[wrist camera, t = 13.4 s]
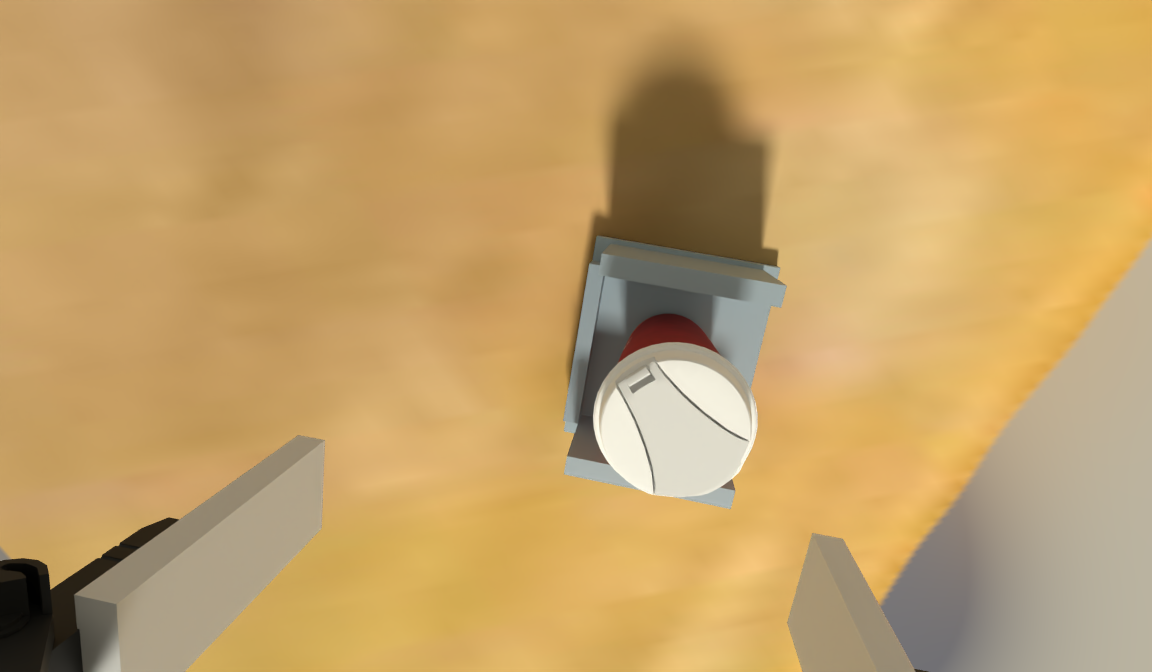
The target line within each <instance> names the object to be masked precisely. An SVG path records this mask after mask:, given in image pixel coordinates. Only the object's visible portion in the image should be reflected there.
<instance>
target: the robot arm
mask: <svg viewBox="0 0 1152 672" xmlns="http://www.w3.org/2000/svg"><path fill="white" fill-rule="evenodd" d="M324 450H325V440H321V439H316V438H310V437H305V436H300V435H298V436H296V437H295V438H294V439H292V440H291V441H289V442H288V443H287V444H285V445H284V446H282V447H281V448H280V449H278V450H277V451H275V452H274V453H273V454H271V455H270V456H268V457H267V458H266V459H264V460H263V461H261V462H260V463H259V464H257V465H256V466H254V467H253V468H252V469H250V470H249V471H247V472H246V473H244V474H243V475H242V476H240V477H239V478H237V479H236V480H235V481H233V482H232V483H230V484H229V485H228V486H226V487H225V488H223V489H222V490H221V491H219V492H218V493H216V494H215V495H214V496H212V497H211V498H209V499H208V500H207V501H205V502H204V503H202V504H201V505H200V506H198V507H197V508H195V509H194V510H193V511H191V512H190V513H188V514H187V515H185V516H184V517H183V518H181V519H180V520H179V519H174V518H166V519H164V520H161V521H159V522H156V523H154V524H151V525H149V526H146V527H144V528H141V529H140V530H138V531H137V532H135V533H134V534H132V535H131V536H129V537H128V538H127V539H125V540H124V541H122V542H121V543H120V545H119V546H115V547H113V548H112V549H110V550H109V551H107V552H106V553H104V554H103V555H102V557H101V558H97V559H95V560H94V561H92V562H91V563H90V564H88V565H87V566H85V567H84V568H82V569H81V570H79V571H78V572H76V573H75V574H73V575H72V576H70V577H69V578H67V579H66V580H64V581H63V582H61V583H60V584H58V585H57V586H55V587H54V588H53V589H51V590H50V582H49V573H48V568H47V565H45V564H44V563H42V562H40V561H39V560H33V559H25V558H21V559H11V560H3V561H0V672H185V671H186V670H187V669H188V668H189V667H190V666H191V665H192V664H193V663H194V661H195V660H196V659H197V658H198V657H199V656H200V655H201V654H202V653H203V652H204V651H205V650H206V649H207V648H208V647H209V646H210V645H211V644H212V643H213V642H214V641H215V639H216V638H217V637H218V636H219V635H220V634H221V633H222V632H223V631H224V630H225V629H226V628H227V627H228V626H229V625H230V624H231V623H232V622H233V621H234V620H235V619H236V617H237V616H238V615H239V614H240V613H241V612H242V611H243V610H244V609H245V608H246V607H247V606H248V605H249V604H250V603H251V602H252V601H253V600H254V599H255V598H256V597H257V596H258V594H259V593H260V592H261V591H262V590H263V589H264V588H265V587H266V586H267V585H268V584H269V583H270V582H271V581H272V580H273V579H274V578H275V577H276V576H277V575H278V574H279V572H280V571H281V570H282V569H283V568H284V567H285V566H286V565H287V564H288V563H289V562H290V561H291V560H292V559H293V558H294V557H295V556H296V555H297V554H298V553H299V552H300V550H301V549H302V548H303V547H304V546H305V545H306V544H307V543H308V542H309V541H310V540H311V539H312V538H313V537H314V536H315V535H316V534H317V533H318V532H319V531H320V530H321V528H322V503H323V477H324ZM787 624H788V627H789V630H790V633H791V636H792V639H793V643H794V646H795V649H796V652H797V655H798V658H799V662H800V665H801V668H802V671H803V672H927V671H922V670H917V669H914V668H913V666H912V664H911V662H910V661H909V659H908V657H907V655H906V653H905V651H904V650H903V648H902V646H901V644H900V642H899V641H898V639H897V637H896V635H895V633H894V631H893V630H892V628H891V626H890V624H889V622H888V620H887V619H886V617H885V615H884V613H883V611H882V609H881V608H880V606H879V604H878V602H877V600H876V598H875V597H874V595H873V593H872V591H871V589H870V588H869V586H868V584H867V582H866V580H865V578H864V577H863V575H862V573H861V571H860V569H859V567H858V566H857V564H856V562H855V560H854V558H853V557H852V555H851V553H850V551H849V549H848V547H847V546H846V544H845V542H844V540H843V539H841V538H836V537H830V536H825V535H820V534H815V533H812V536H811V540H810V543H809V547H808V550H807V554H806V558H805V561H804V565H803V568H802V572H801V575H800V579H799V583H798V586H797V590H796V593H795V597H794V600H793V604H792V608H791V611H790V615H789V618H788V622H787Z"/></svg>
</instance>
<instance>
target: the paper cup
mask: <svg viewBox="0 0 1152 672" xmlns="http://www.w3.org/2000/svg"><path fill="white" fill-rule="evenodd" d="M593 423H594V431H595V436H596V440H597V442H598V445H599V447H600V450H601V452H602V453H603V455H604V457H605V458H606V460H607V461H608V463H609V464H610V465H611V466H612V467H613V469H614V470H615V471H616V472H617V473H619V474H620V475H621V476H622V477H623V478H624V479H625V480H626V481H628V482H629V483H630V484H632V485H633V486H635V487H636V488H638V489H640V490H642V491H644V492H647V493H649V494H652V495H654V494H655V495H660V496H669V497H687V496H700V495H705V494H708V493H710V492H712V491H714V490H716V489H718V488H720V487H721V486H723V485H724V484H726V483H727V482H728V481H730V480H731V479H732V478H733V477H734V476H735V475H736V474H738V473H739V471H740V469H741V467H742V465H743V463H744V461H745V460H746V458H747V456H748V454H749V453H750V451H751V449H752V446H753V443H754V440H755V437H756V431H757V408H756V402H755V399H754V396H753V394H752V391H751V389H750V387H749V385H748V383H747V381H746V380H745V378H744V377H743V376H742V374H741V373H740V372H739V371H738V369H737V368H736V367H735V366H734V365H732V364H731V363H730V362H729V361H728V360H727V359H725V358H724V357H722V356H721V355H720V354H719V352H718V351H717V349H716V348H715V347H714V345H713V344H712V342H711V341H710V340H709V338H708V337H707V335H706V334H705V333H704V332H703V330H702V329H701V328H700V327H699V326H698V325H697V324H696V323H694V322H693V321H692V320H690V319H688V318H686V317H684V316H681V315H677V314H659V315H655V316H652V317H650V318H648V319H646V320H644V321H643V322H642V323H641V324H639V325H638V326H637V327H636V329H635V330H634V331H633V332H632V334H631V336H630V337H629V339H628V341H627V343H626V345H625V347H624V350H623V352H622V354H621V356H620V359H619V361H618V363H617V365H616V366H615V367H614V368H613V369H612V370H611V371H610V372H609V374H608V375H607V377H606V378H605V379H604V381H603V383H602V385H601V387H600V389H599V391H598V394H597V397H596V401H595V404H594V413H593Z"/></svg>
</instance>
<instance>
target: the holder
mask: <svg viewBox="0 0 1152 672" xmlns="http://www.w3.org/2000/svg"><path fill="white" fill-rule="evenodd" d="M779 271H780V268H779V267H778V266H773V265H767V264H761V263H755V262H750V261H744V260H738V259H732V258H726V257H721V256H715V255H709V254H703V253H697V252H692V251H686V250H680V249H674V248H669V247H663V246H657V245H651V244H645V243H640V242H634V241H628V240H622V239H617V238H611V237H605V236H599V235H598V236H597V237H596V243H595V249H594V255H593V260H592V261H591V262H590V264H589V269H588V275H587V281H586V287H585V293H584V299H583V305H582V311H581V317H580V323H579V329H578V335H577V341H576V347H575V353H574V359H573V365H572V371H571V377H570V383H569V389H568V395H567V401H566V407H565V413H564V419H563V421H566V422H565V428H564V431H565V432H570V433H575V434H574V437H573V440H572V443H571V446H570V449H569V452H568V455H567V460H566V466H565V472H564V474H565V475H570V476H575V477H580V478H584V479H589V480H594V481H599V482H604V483H608V484H613V485H618V486H623V487H628V488H632V489H637V490H640V489H638V488H636V487H635V486H633V485H632V484H630V483H629V482H628V481H626V480H625V479H624V478H623V477H622V476H621V475H620V474H619V473H617V472H616V471H615V470H614V469H613V467H612V466H611V465H610V464H609V463H608V461H607V460H606V458H605V457H604V455H603V453H602V452H601V450H600V447H599V445H598V442H597V440H596V436H595V431H594V423H593V413H594V404H595V401H596V397H597V394H598V391H599V389H600V387H601V385H602V383H603V381H604V379H605V378H606V377H607V375H608V374H609V372H610V371H611V370H612V369H613V368H614V367H615V366H616V365H617V363H618V361H619V359H620V356H621V354H622V352H623V350H624V347H625V345H626V343H627V341H628V339H629V337H630V336H631V334H632V332H633V331H634V330H635V329H636V327H637V326H638V325H639V324H641V323H642V322H643V321H644V320H646V319H648V318H650V317H652V316H655V315H659V314H677V315H681V316H684V317H686V318H688V319H690V320H692V321H693V322H694V323H696V324H697V325H698V326H699V327H700V328H701V329H702V330H703V332H704V333H705V334H706V335H707V337H708V338H709V340H710V341H711V342H712V344H713V345H714V347H715V348H716V349H717V351H718V352H719V354H720V355H721V356H722V357H724V358H725V359H727V360H728V361H729V362H730V363H731V364H732V365H734V366H735V367H736V368H737V369H738V371H739V372H740V373H741V374H742V376H743V377H744V378H745V380H746V381H747V383H748V385H749V387H750V389H751V385H752V381H753V377H754V373H755V368H756V364H757V360H758V356H759V352H760V348H761V344H762V340H763V336H764V332H765V328H766V324H767V320H768V316H769V312H770V308H771V306H775V307H780V308H781V306H782V302H783V298H784V294H785V290H786V285H785V284H783V283H782V282H780V281H779V280H777V279H778V275H779ZM734 494H735V488H734V484H733V481H732V479H731V480H730V481H728V482H727V483H726V484H724V485H723V486H721V487H720V488H718V489H716V490H714V491H712V492H710V493H708V494H705V495H700V496H687V497H676V498H680V499H685V500H690V501H695V502H700V503H704V504H709V505H714V506H719V507H724V508H728V509H731V506H732V502H733V498H734Z"/></svg>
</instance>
